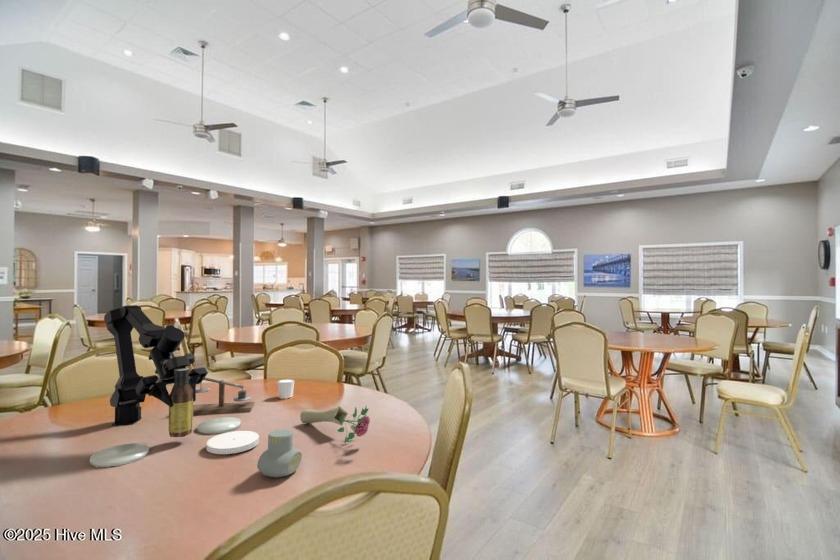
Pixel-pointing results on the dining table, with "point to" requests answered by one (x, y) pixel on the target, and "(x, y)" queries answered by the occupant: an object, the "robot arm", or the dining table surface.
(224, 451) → the plastic lid
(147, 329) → the robot arm
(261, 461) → the air freshener
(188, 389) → the sauce bottle
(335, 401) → the dining table surface
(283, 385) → the white short cylinder
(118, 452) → the dish left
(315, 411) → the flower vase
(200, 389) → the balance scale
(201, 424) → the dish right
